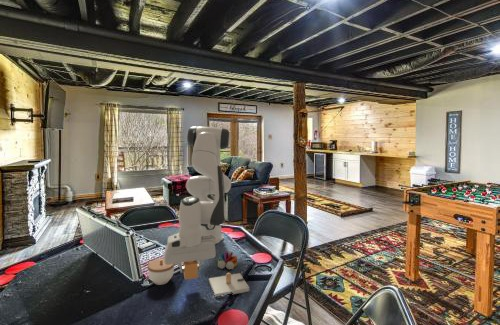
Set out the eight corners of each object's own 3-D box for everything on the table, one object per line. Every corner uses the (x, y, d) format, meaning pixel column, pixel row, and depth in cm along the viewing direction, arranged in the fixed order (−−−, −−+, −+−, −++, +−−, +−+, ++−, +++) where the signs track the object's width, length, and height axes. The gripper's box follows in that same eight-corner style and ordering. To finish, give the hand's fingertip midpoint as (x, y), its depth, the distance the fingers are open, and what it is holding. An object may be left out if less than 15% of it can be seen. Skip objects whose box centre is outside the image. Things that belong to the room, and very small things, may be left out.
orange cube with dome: (183, 273, 110) (183, 257, 109) (195, 271, 112) (195, 255, 111) (184, 279, 105) (184, 263, 104) (197, 277, 107) (197, 261, 106)
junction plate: (208, 281, 114) (208, 269, 113) (239, 276, 119) (240, 264, 118) (215, 297, 103) (215, 284, 102) (249, 291, 108) (249, 278, 107)
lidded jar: (149, 290, 107) (149, 268, 106) (146, 277, 116) (146, 257, 115) (176, 284, 111) (176, 262, 111) (171, 272, 121) (171, 252, 120)
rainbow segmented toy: (234, 272, 123) (235, 257, 122) (214, 269, 125) (215, 254, 124) (239, 263, 131) (239, 249, 130) (220, 261, 133) (220, 247, 132)
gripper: (214, 232, 113) (213, 262, 115) (163, 237, 106) (164, 270, 108) (217, 238, 107) (217, 270, 109) (164, 244, 100) (164, 278, 102)
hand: (190, 270), depth 108 cm, fingers closed on orange cube with dome, 5 cm apart
